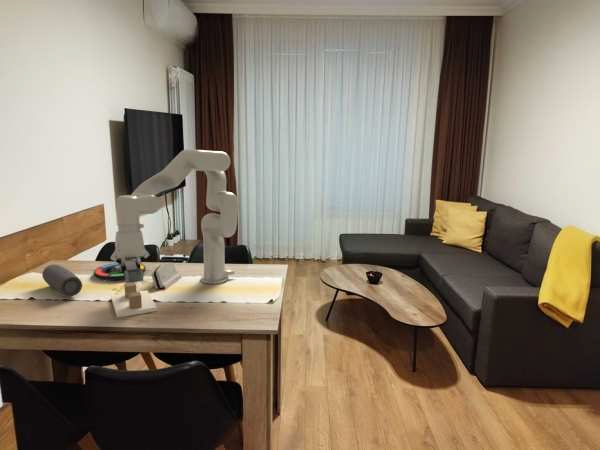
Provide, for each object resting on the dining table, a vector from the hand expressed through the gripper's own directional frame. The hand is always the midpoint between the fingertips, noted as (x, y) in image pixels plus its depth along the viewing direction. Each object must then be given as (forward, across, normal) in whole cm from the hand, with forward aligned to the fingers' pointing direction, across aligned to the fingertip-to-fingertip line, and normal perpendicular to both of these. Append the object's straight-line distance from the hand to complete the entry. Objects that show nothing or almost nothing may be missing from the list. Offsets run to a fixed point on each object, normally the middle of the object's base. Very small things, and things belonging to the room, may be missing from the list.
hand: (131, 273), depth 157 cm
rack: (+13, 0, 0) cm, 13 cm away
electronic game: (+13, 0, -41) cm, 43 cm away
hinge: (+13, -17, -21) cm, 30 cm away
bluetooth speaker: (+13, +24, -27) cm, 38 cm away
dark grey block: (0, 0, 0) cm, 1 cm away
